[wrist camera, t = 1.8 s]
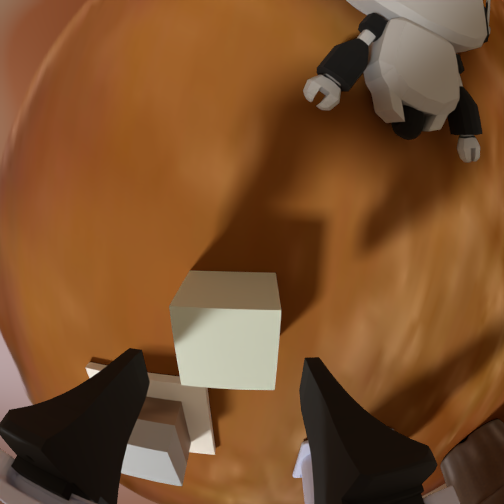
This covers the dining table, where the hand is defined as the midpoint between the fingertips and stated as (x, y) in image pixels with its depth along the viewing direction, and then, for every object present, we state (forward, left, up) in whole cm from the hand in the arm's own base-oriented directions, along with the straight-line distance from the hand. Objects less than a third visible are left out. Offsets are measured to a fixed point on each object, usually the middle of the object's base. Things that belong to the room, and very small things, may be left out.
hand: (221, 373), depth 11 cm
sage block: (0, 0, -6) cm, 6 cm away
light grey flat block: (+7, +11, -3) cm, 13 cm away
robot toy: (-10, -18, -6) cm, 21 cm away
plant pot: (-36, +27, -6) cm, 46 cm away
